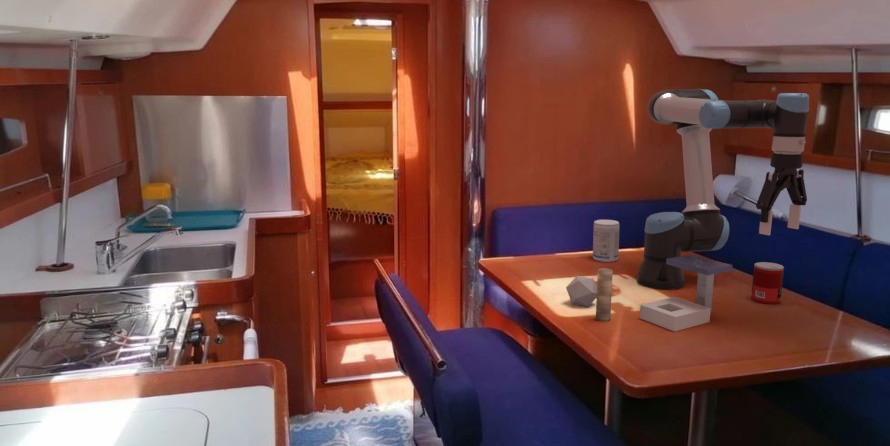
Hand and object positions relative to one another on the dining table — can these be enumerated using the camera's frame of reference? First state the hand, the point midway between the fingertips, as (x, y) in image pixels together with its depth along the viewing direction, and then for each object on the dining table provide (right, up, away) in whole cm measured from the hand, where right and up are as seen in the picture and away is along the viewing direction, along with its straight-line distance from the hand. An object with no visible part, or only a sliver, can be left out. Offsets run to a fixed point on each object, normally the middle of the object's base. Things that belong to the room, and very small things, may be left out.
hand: (779, 231), depth 172 cm
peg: (-46, -24, +6) cm, 53 cm away
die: (-49, -22, +19) cm, 57 cm away
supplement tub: (-29, -12, +71) cm, 77 cm away
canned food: (+7, -21, +21) cm, 31 cm away
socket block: (-27, -25, +4) cm, 37 cm away
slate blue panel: (-20, -24, +8) cm, 32 cm away
